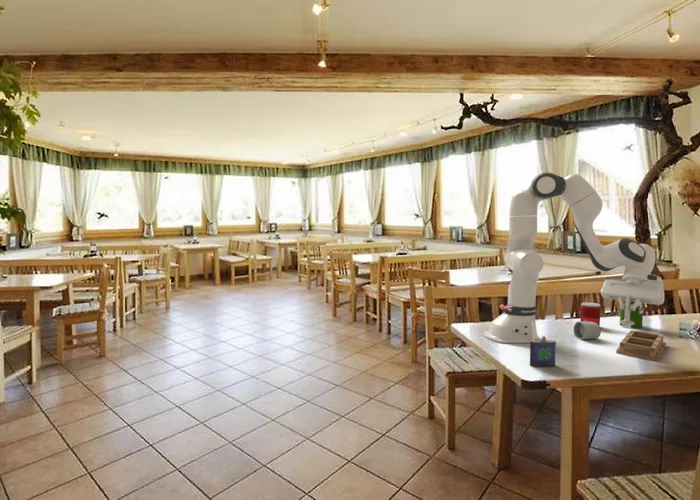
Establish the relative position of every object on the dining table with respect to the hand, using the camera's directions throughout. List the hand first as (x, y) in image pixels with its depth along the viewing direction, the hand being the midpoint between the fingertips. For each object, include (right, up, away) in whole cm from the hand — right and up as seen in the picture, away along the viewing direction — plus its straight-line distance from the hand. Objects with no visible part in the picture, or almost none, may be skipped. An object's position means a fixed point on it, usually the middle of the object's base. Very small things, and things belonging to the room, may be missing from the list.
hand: (627, 309), depth 155 cm
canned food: (+10, -15, +42) cm, 46 cm away
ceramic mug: (-2, -16, +24) cm, 29 cm away
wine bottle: (+31, -14, +43) cm, 54 cm away
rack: (+12, -17, +9) cm, 22 cm away
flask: (-36, -19, -9) cm, 42 cm away
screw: (+1, -7, +1) cm, 7 cm away
